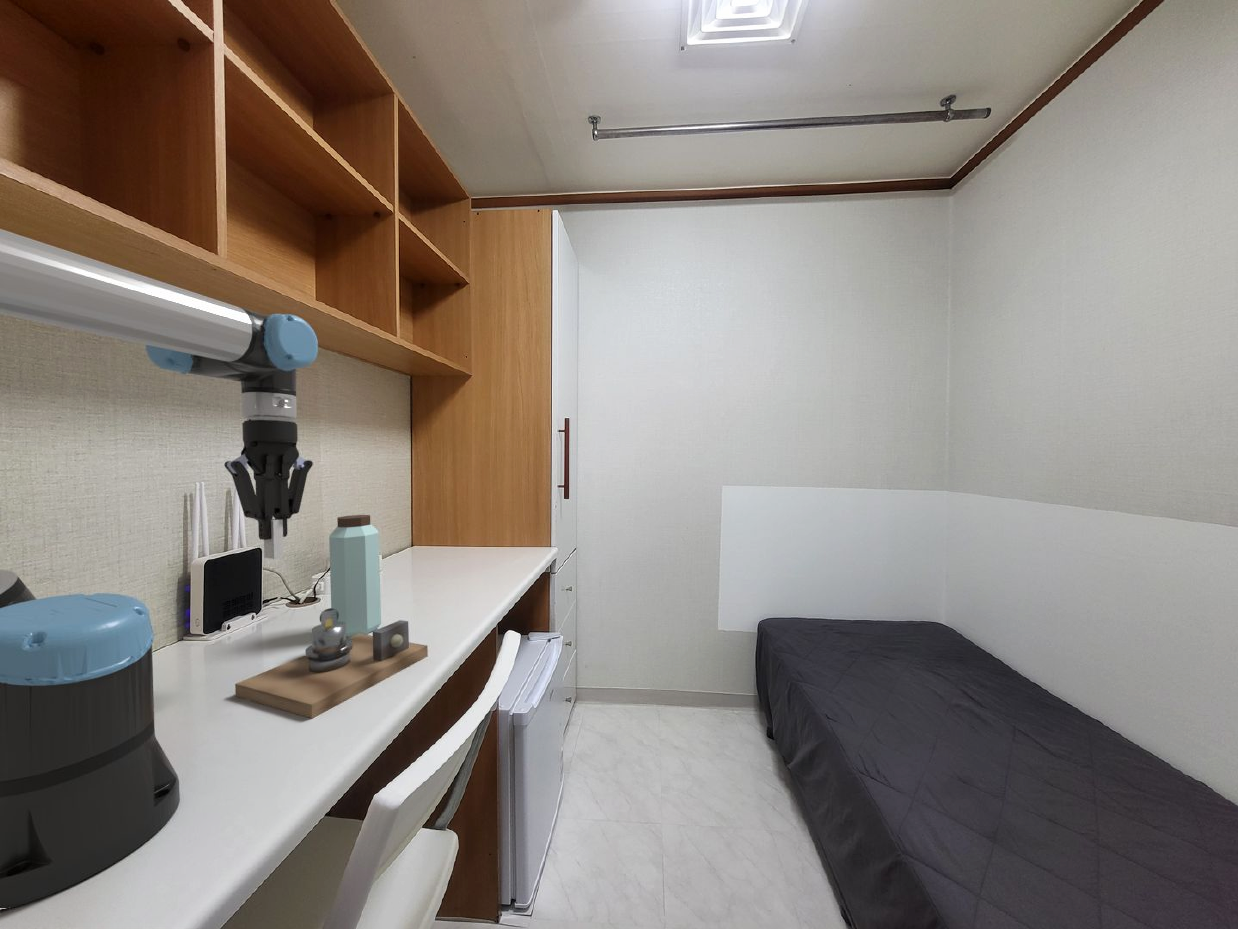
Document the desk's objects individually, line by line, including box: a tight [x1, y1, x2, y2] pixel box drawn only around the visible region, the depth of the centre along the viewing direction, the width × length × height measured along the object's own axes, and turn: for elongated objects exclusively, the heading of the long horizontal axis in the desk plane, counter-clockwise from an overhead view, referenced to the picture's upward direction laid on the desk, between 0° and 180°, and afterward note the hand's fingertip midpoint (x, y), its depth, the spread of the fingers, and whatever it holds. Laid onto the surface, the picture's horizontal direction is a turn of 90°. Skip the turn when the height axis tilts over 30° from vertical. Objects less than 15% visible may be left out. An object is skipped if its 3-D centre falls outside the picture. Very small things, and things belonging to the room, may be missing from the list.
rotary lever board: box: [234, 619, 429, 719], centre depth 80 cm, size 22×18×7 cm
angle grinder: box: [305, 607, 353, 661], centre depth 84 cm, size 16×7×5 cm, turn 32°
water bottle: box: [328, 514, 382, 638], centre depth 100 cm, size 10×10×25 cm
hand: (273, 557), depth 79 cm, fingers closed
